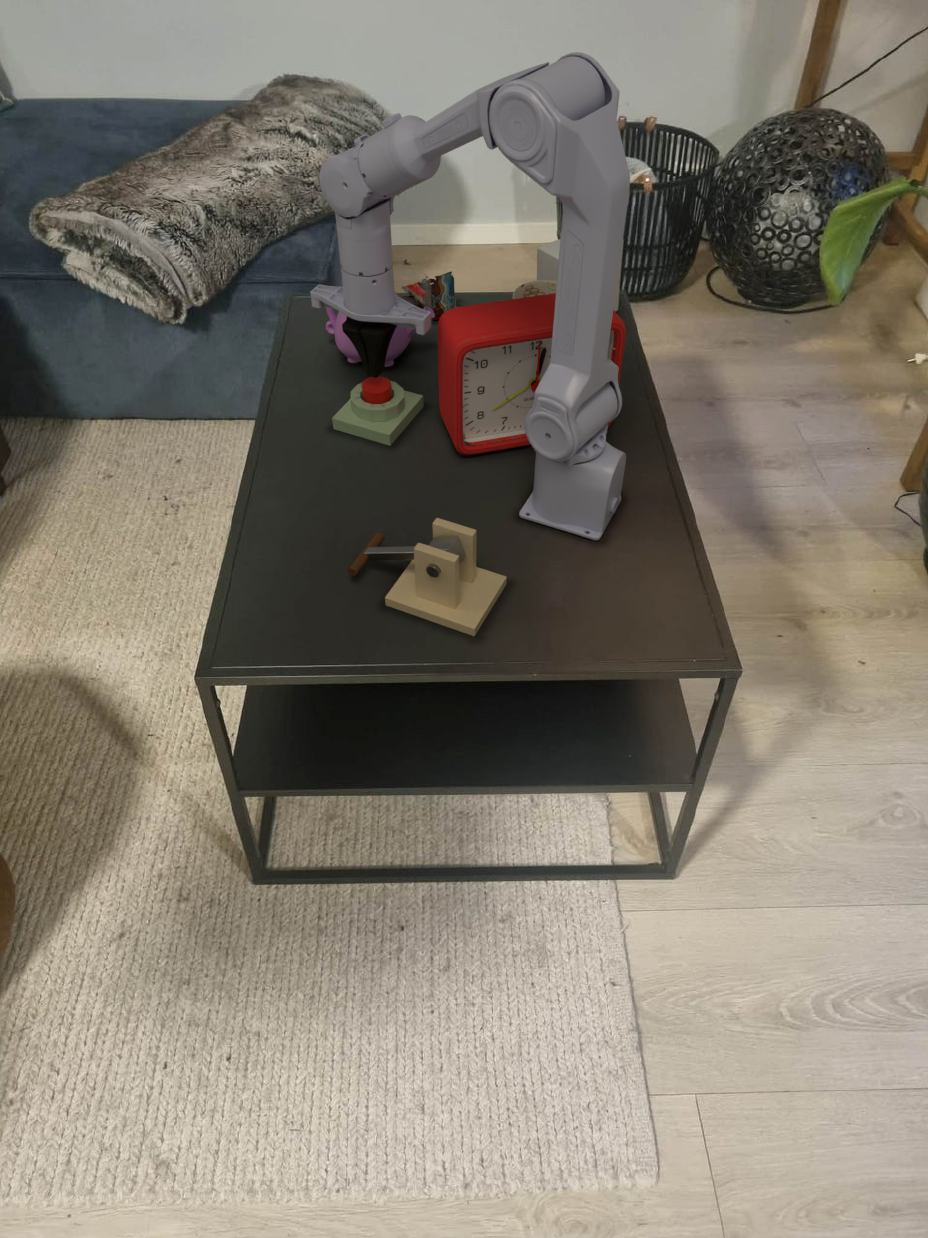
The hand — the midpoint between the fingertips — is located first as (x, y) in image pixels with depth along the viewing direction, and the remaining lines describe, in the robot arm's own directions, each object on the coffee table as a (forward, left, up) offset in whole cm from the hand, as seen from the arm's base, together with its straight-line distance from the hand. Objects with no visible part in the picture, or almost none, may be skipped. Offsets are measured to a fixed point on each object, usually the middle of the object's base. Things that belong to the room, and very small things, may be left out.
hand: (375, 372), depth 112 cm
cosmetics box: (-14, -34, -7) cm, 37 cm away
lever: (-17, +24, -3) cm, 30 cm away
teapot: (+7, -13, -7) cm, 16 cm away
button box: (0, 0, -6) cm, 6 cm away
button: (0, 0, -3) cm, 3 cm away
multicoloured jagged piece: (+9, -26, -3) cm, 28 cm away
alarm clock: (-17, -6, -7) cm, 19 cm away
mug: (-15, -18, -7) cm, 25 cm away
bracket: (-21, +24, -6) cm, 33 cm away
